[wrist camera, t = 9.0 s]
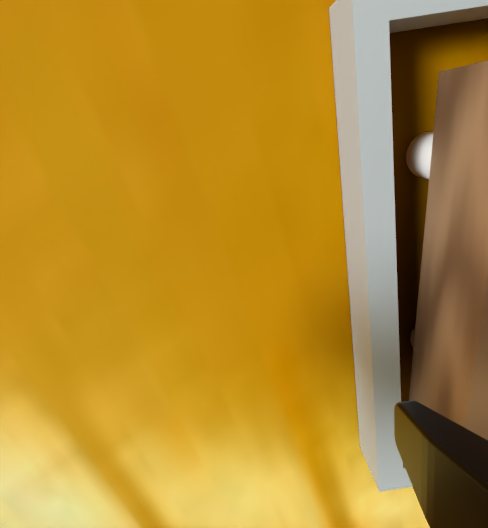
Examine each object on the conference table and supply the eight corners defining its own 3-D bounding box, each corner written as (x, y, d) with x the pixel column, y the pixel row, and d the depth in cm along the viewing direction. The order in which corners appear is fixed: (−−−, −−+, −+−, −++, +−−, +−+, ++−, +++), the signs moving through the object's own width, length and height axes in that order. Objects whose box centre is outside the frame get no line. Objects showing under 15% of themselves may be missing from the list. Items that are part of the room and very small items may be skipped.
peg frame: (546, 418, 23) (591, 459, 21) (360, 447, 23) (379, 491, 21) (591, -33, 17) (668, -64, 14) (329, 8, 17) (351, -16, 14)
